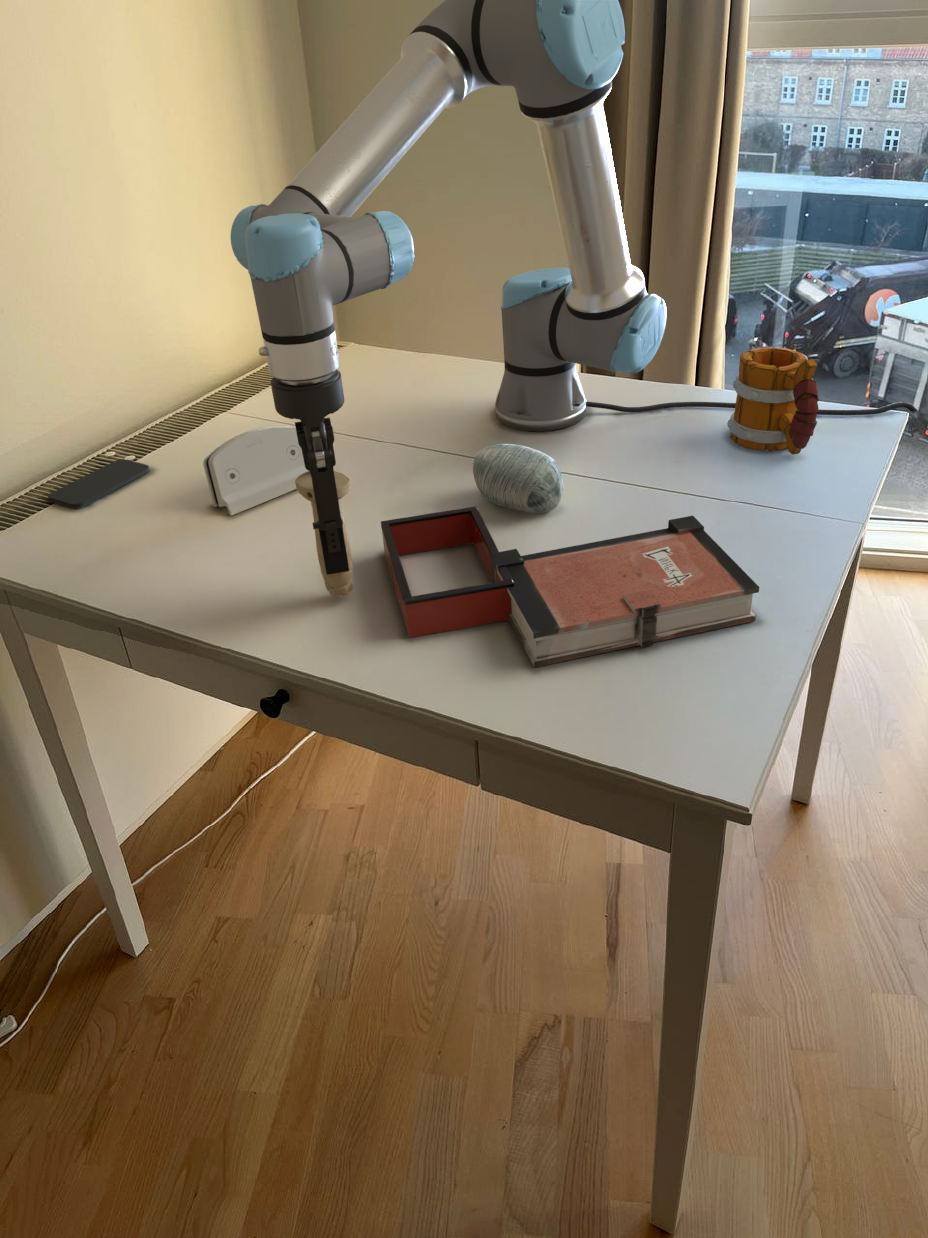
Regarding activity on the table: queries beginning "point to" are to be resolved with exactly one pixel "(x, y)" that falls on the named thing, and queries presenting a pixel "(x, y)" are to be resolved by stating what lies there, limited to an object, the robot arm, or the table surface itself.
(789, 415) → the mug
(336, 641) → the table surface
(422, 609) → the red black rectangular frame
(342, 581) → the handle
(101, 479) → the phone
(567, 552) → the book
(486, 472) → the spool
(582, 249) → the robot arm
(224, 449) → the white piece
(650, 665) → the table surface
